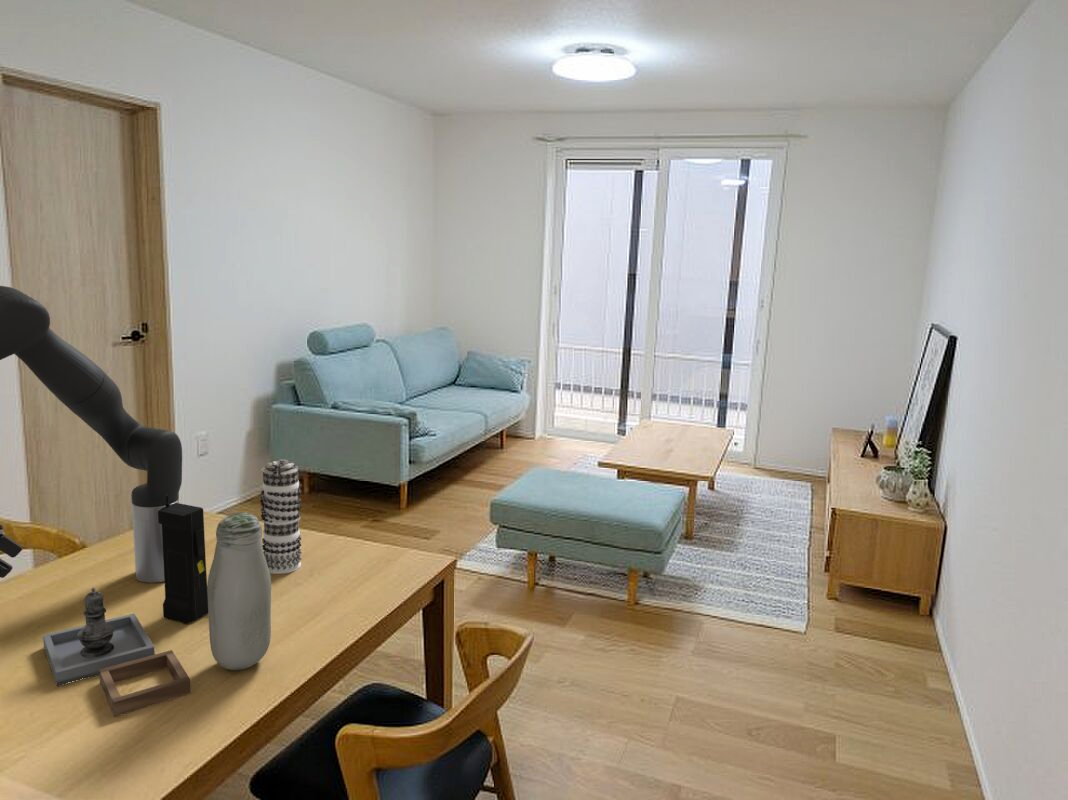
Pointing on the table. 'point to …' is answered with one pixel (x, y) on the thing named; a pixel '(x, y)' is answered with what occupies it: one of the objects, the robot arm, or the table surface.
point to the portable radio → (184, 562)
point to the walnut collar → (148, 695)
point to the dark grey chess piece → (95, 627)
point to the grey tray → (74, 666)
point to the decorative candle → (281, 516)
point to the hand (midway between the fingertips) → (13, 562)
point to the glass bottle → (239, 594)
